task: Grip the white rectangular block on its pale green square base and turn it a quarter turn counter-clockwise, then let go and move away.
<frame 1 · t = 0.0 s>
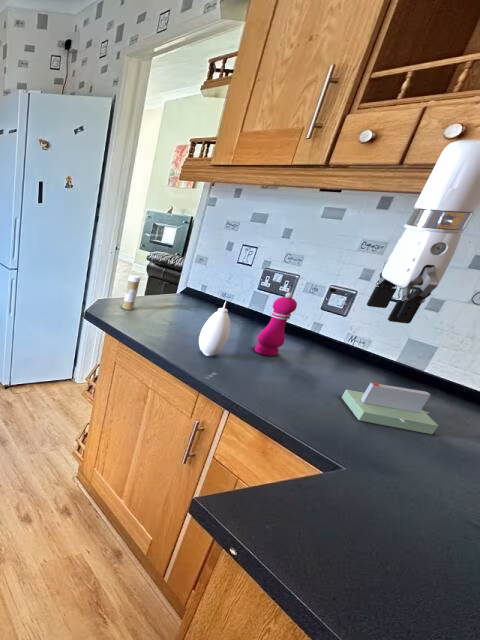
hand: (386, 314, 81), 29 cm above the counter, tool pointing down, fingers open, 9 cm apart
white rectangular block: (394, 397, 101), point 5 cm above the counter, hinge at 0.0°
white air blower bulb: (207, 355, 133), on the counter
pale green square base: (383, 414, 103), on the counter
sprinkles bottle: (127, 308, 172), on the counter
pepper mill: (265, 352, 136), on the counter
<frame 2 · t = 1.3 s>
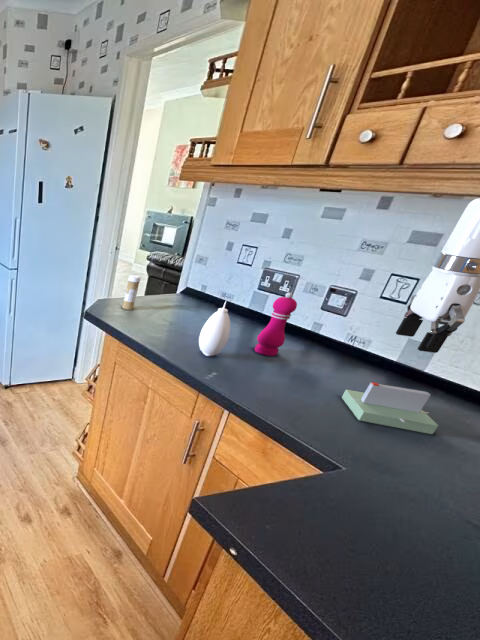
hand: (415, 342, 91), 20 cm above the counter, tool pointing down, fingers open, 9 cm apart
nothing on the counter moved.
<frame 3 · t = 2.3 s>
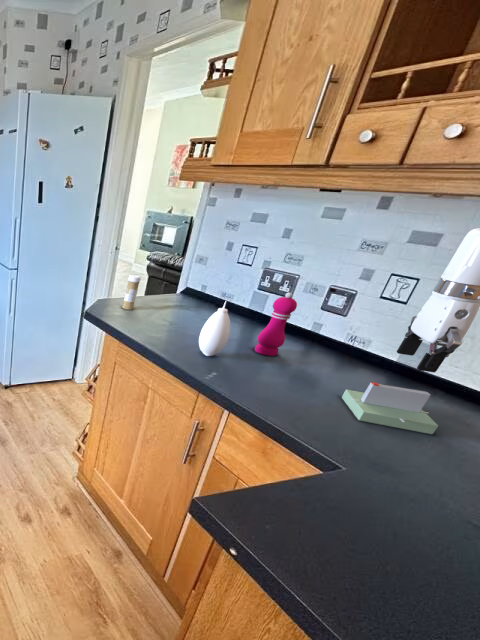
hand: (414, 362, 96), 15 cm above the counter, tool pointing down, fingers open, 9 cm apart
nothing on the counter moved.
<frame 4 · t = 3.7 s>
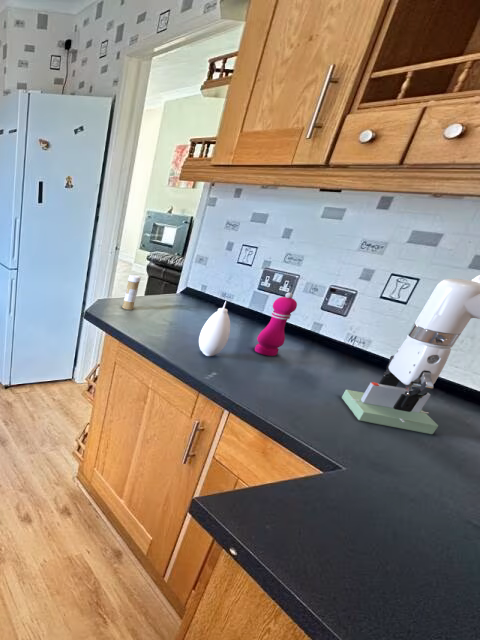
hand: (392, 400, 101), 4 cm above the counter, tool pointing down, fingers open, 9 cm apart
nothing on the counter moved.
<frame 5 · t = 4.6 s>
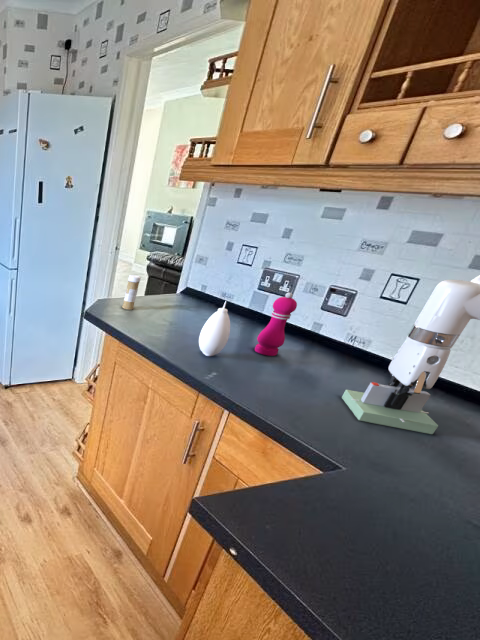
hand: (389, 405, 102), 3 cm above the counter, tool pointing down, fingers closed on white rectangular block
white rectangular block: (394, 397, 101), point 5 cm above the counter, hinge at 0.0°, touching gripper
everything else where it was.
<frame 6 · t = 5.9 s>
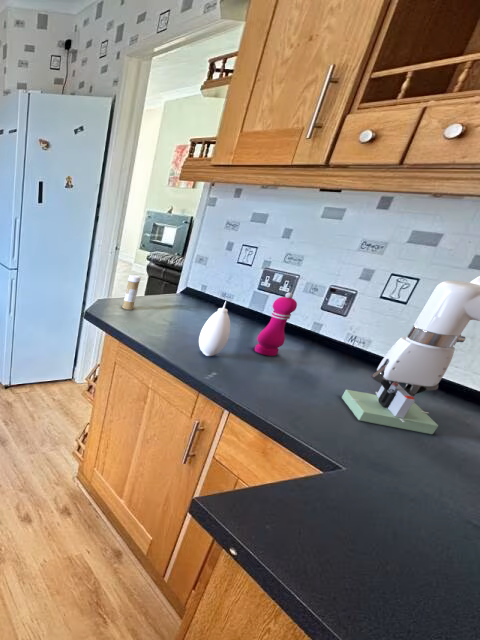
hand: (389, 405, 102), 3 cm above the counter, tool pointing down, fingers closed
white rectangular block: (394, 397, 101), point 5 cm above the counter, hinge at 89.4°
everything else where it was.
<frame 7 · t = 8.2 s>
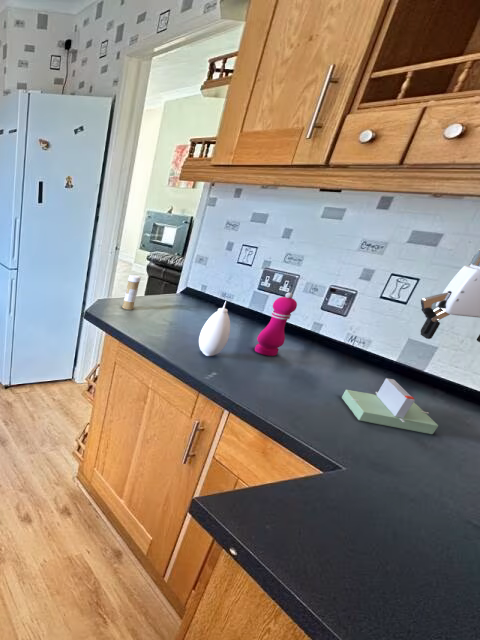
hand: (453, 339, 92), 21 cm above the counter, tool pointing down, fingers open, 9 cm apart
nothing on the counter moved.
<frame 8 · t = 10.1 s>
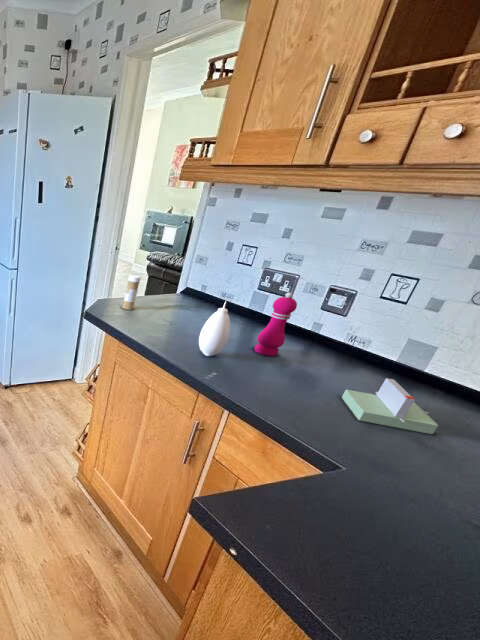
nothing on the counter moved.
at the end: white rectangular block at +89° (first picture: +0°); the gripper is holding nothing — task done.
